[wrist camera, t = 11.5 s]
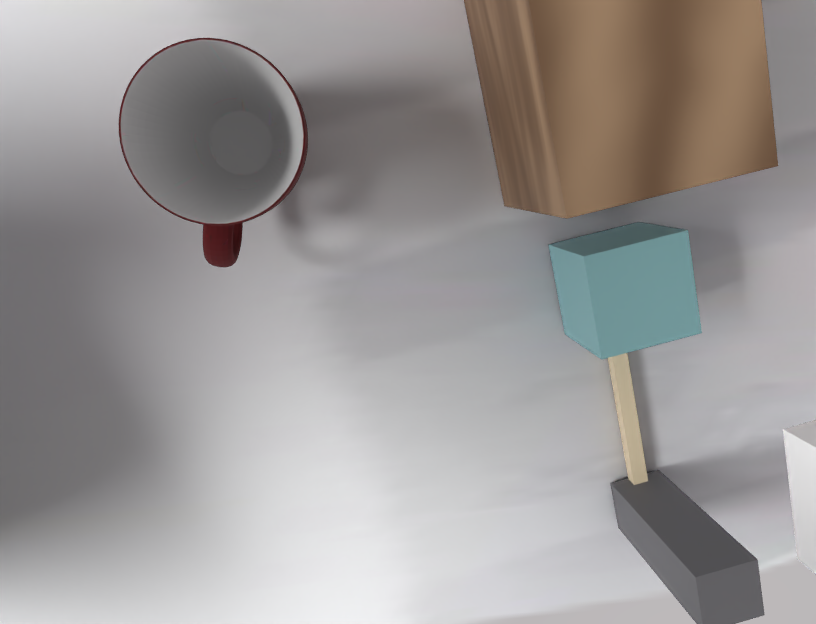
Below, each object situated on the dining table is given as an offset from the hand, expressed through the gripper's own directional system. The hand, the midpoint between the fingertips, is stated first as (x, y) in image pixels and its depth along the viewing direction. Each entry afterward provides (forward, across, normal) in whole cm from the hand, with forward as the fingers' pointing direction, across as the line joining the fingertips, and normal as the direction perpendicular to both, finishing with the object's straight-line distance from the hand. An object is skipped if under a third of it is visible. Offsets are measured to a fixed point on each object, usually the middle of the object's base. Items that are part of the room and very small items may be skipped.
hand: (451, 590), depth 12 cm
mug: (+31, -5, +9) cm, 33 cm away
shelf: (+31, +15, +9) cm, 35 cm away
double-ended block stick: (+30, +15, -10) cm, 35 cm away
